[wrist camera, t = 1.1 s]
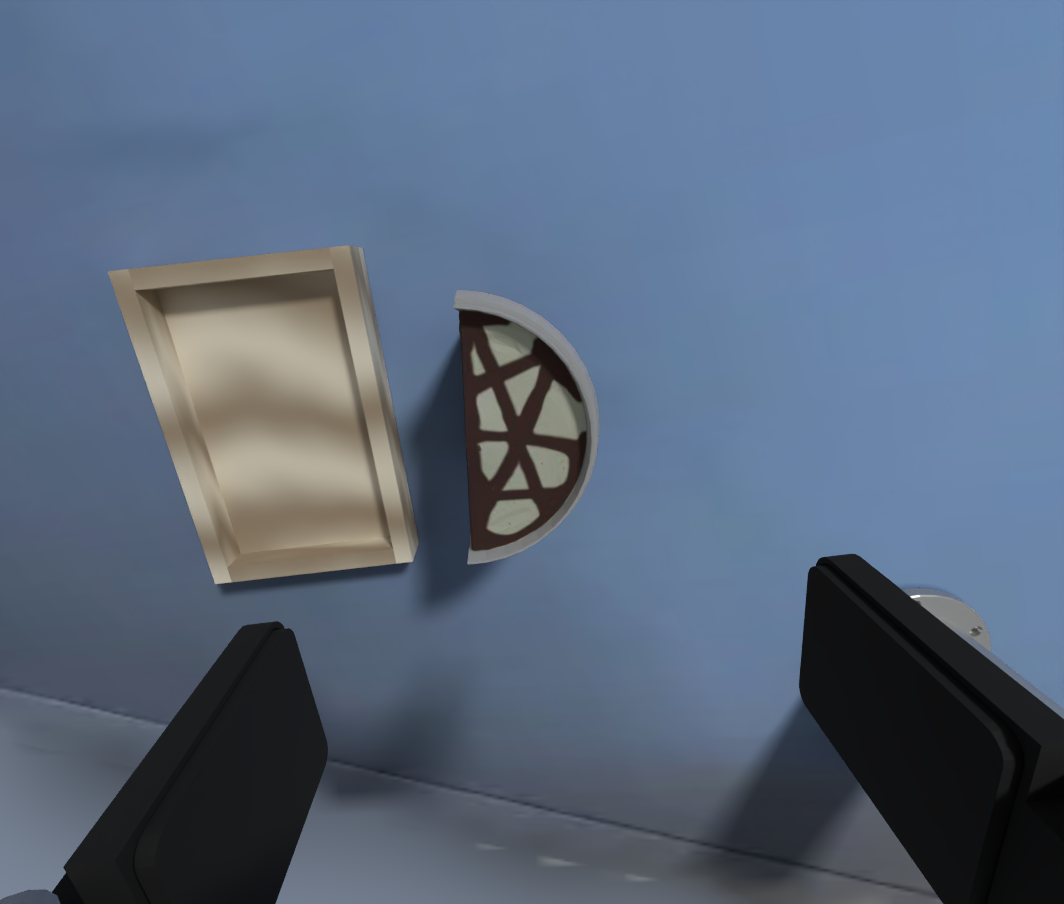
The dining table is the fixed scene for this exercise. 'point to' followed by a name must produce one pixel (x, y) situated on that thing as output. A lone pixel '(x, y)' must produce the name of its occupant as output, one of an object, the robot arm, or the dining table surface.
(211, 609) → the dining table surface
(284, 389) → the holder tray
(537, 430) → the food container
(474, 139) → the dining table surface
